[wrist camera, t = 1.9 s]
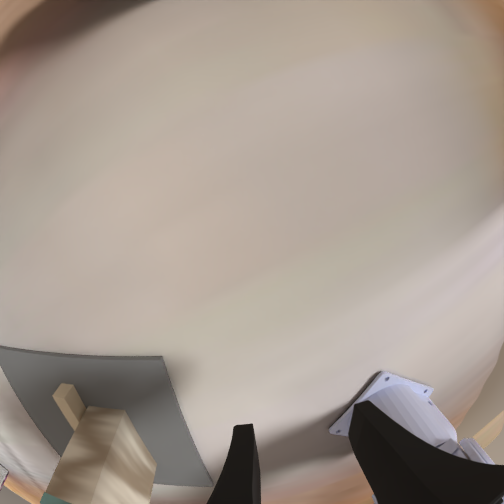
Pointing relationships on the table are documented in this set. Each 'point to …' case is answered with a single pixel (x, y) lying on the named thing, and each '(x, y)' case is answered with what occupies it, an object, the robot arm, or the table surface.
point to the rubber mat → (107, 404)
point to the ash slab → (103, 463)
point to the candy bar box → (3, 475)
